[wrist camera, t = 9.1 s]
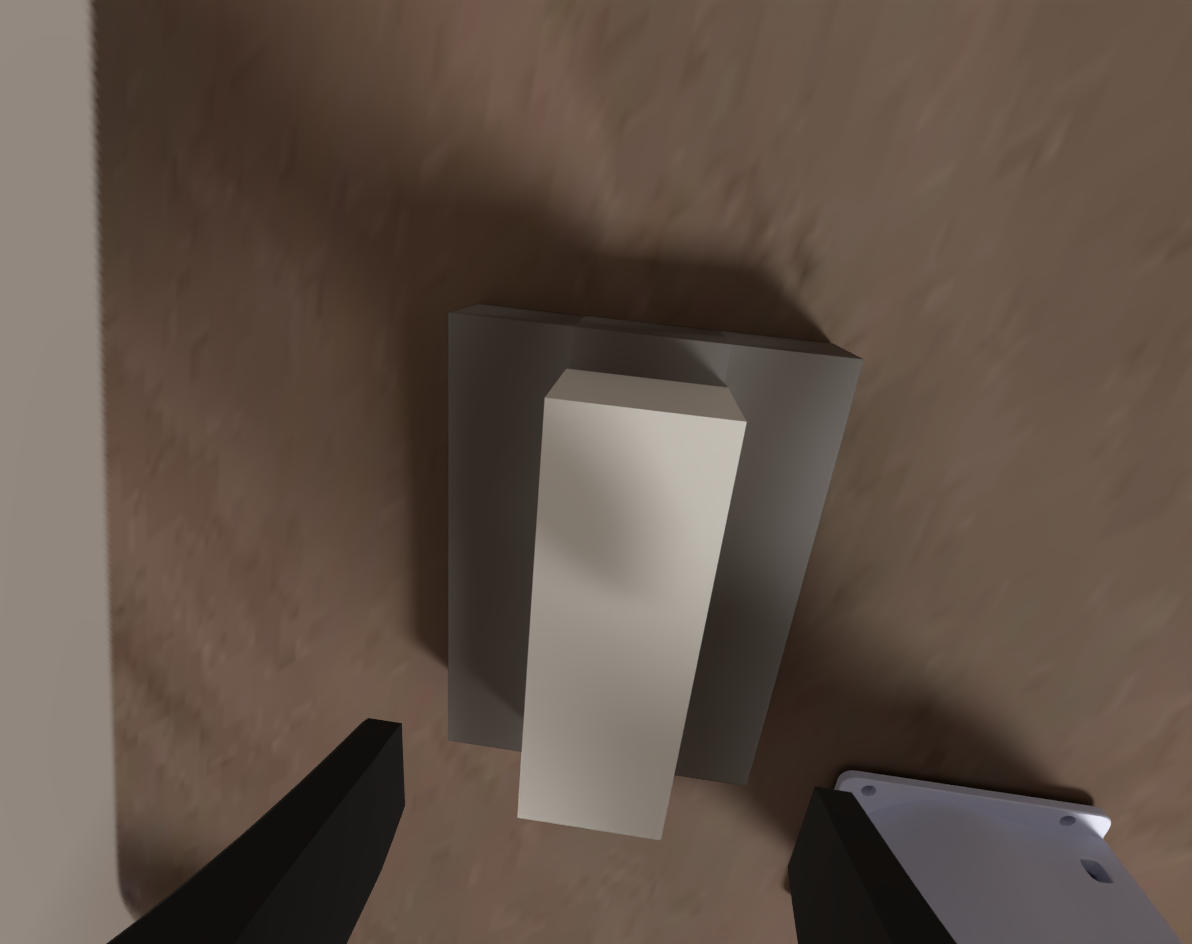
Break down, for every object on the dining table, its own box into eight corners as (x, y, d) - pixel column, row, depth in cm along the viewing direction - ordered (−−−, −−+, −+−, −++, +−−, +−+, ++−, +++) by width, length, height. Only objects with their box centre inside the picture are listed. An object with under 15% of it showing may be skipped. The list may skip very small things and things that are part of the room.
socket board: (832, 343, 16) (863, 359, 13) (736, 726, 21) (746, 786, 18) (477, 303, 16) (447, 312, 14) (470, 687, 21) (448, 740, 19)
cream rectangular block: (717, 367, 16) (746, 421, 11) (659, 694, 21) (660, 840, 15) (578, 352, 16) (544, 398, 11) (550, 678, 21) (517, 817, 16)
